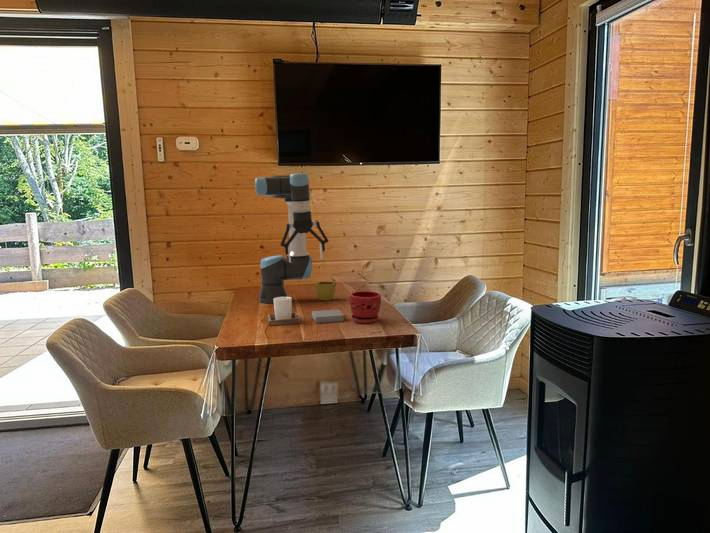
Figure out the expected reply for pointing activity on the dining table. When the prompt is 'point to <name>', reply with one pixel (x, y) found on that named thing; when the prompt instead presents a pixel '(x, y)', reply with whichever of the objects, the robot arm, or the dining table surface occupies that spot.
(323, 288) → the flower pot
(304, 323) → the dining table surface
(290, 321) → the walnut frame
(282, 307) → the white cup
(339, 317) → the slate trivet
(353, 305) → the plant pot
